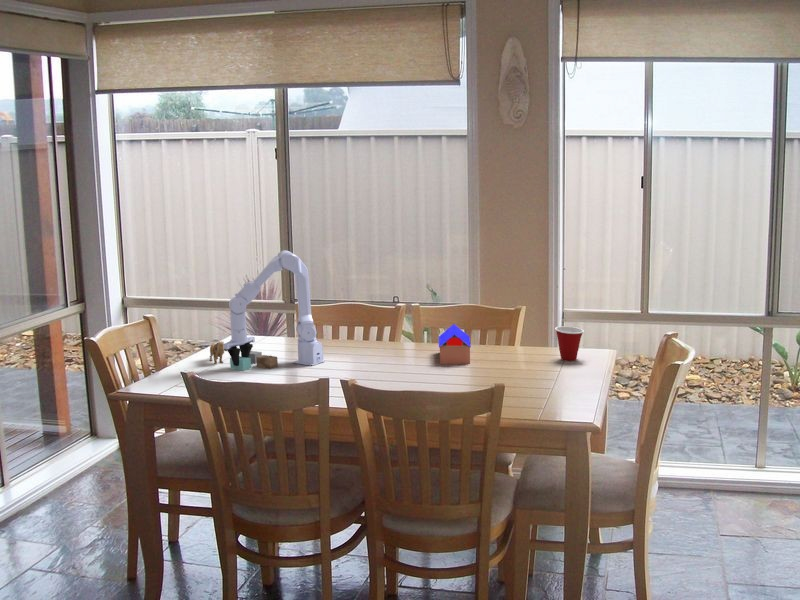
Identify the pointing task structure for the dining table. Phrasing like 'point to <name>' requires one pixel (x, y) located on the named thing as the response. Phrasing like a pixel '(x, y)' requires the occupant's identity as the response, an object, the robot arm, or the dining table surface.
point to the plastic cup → (568, 342)
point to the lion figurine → (217, 351)
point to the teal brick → (241, 364)
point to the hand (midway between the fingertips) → (240, 364)
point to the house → (454, 346)
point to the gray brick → (254, 356)
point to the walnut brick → (267, 361)
